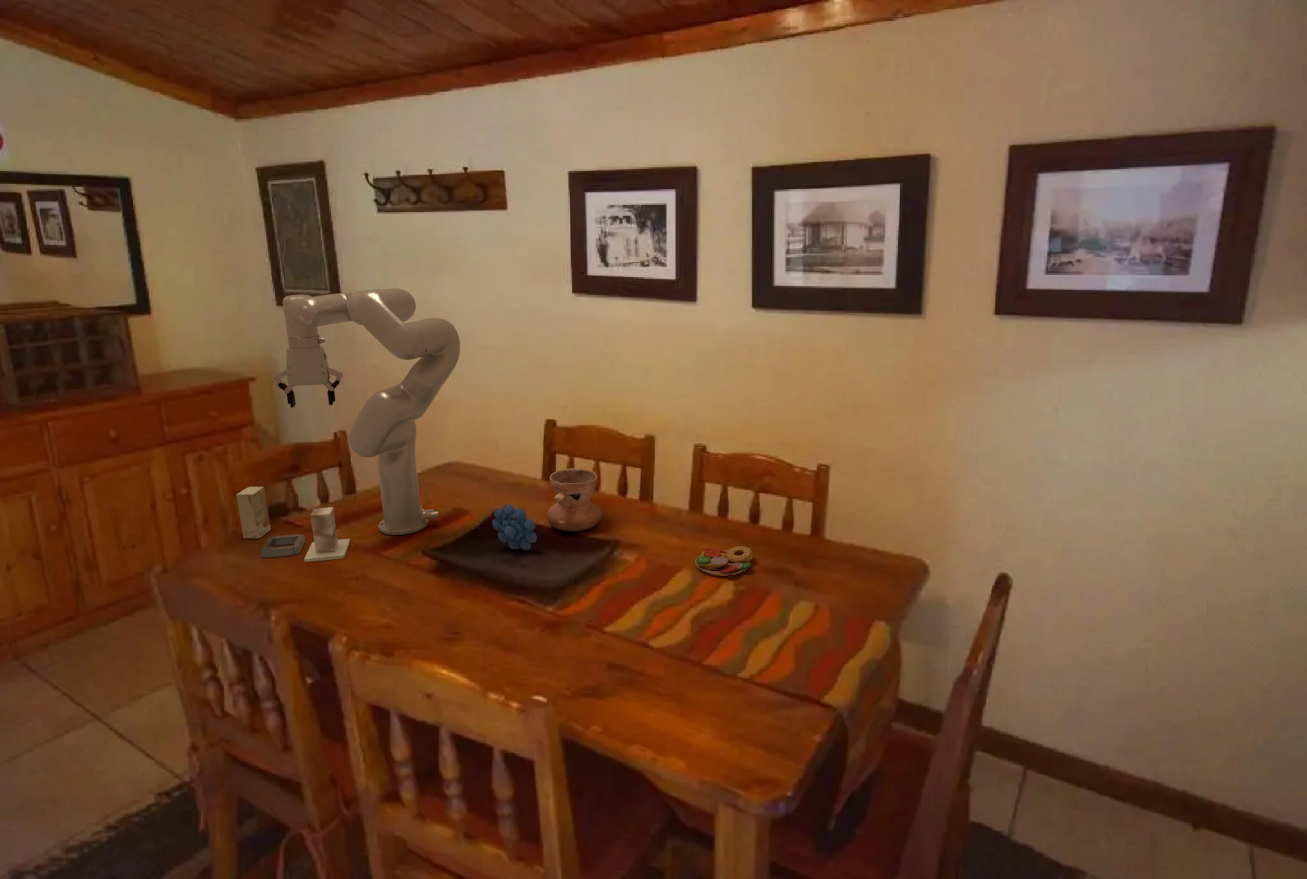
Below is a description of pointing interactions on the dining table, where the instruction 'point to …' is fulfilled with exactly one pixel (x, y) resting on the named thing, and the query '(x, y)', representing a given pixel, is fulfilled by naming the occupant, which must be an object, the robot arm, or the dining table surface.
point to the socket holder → (283, 551)
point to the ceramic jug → (573, 500)
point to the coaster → (338, 554)
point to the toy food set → (725, 560)
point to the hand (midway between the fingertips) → (312, 405)
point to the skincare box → (253, 512)
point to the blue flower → (514, 527)
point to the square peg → (324, 530)
